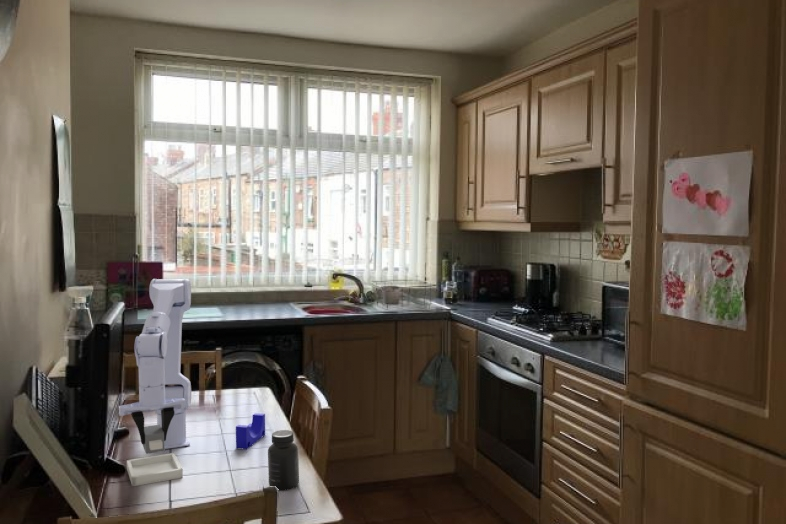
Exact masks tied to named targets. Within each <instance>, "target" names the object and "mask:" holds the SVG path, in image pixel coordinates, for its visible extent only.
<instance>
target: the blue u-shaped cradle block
mask: <svg viewBox="0 0 786 524" xmlns="http://www.w3.org/2000/svg"><path fill="white" fill-rule="evenodd" d="M265 435H266V413H257V412H254V413H253V414H252V420H251V423H249V424H247V425H245V424H237V425H236V426H235V449H238V448H243V449H242V450H248V449H249V448H251V447H252V446H253V445H254V444H256V441H257V440H258V441H259V440H260V439H262V438H263V437H265ZM262 436H263V437H262ZM261 437H262V438H261ZM258 441H257V442H258ZM252 444H253V445H252ZM247 448H248V449H247Z"/></svg>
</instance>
